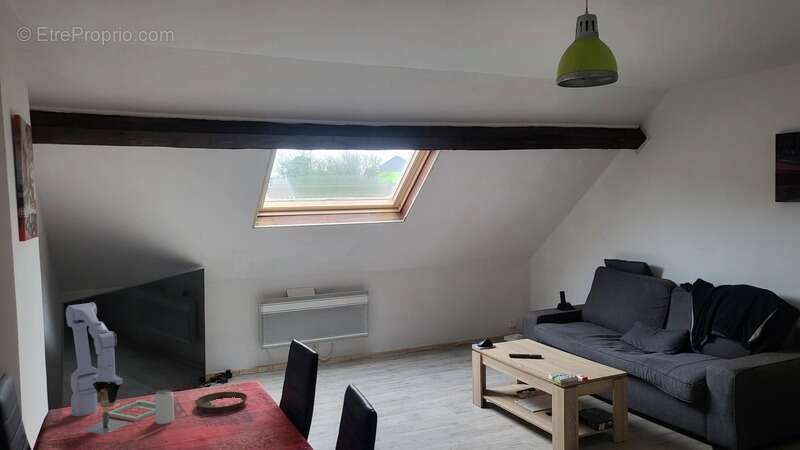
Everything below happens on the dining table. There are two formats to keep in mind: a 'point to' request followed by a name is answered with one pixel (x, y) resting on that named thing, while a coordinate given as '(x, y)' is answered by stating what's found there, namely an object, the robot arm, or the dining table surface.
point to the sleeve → (105, 398)
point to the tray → (136, 404)
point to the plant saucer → (205, 400)
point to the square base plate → (105, 425)
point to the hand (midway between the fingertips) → (107, 401)
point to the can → (164, 406)
